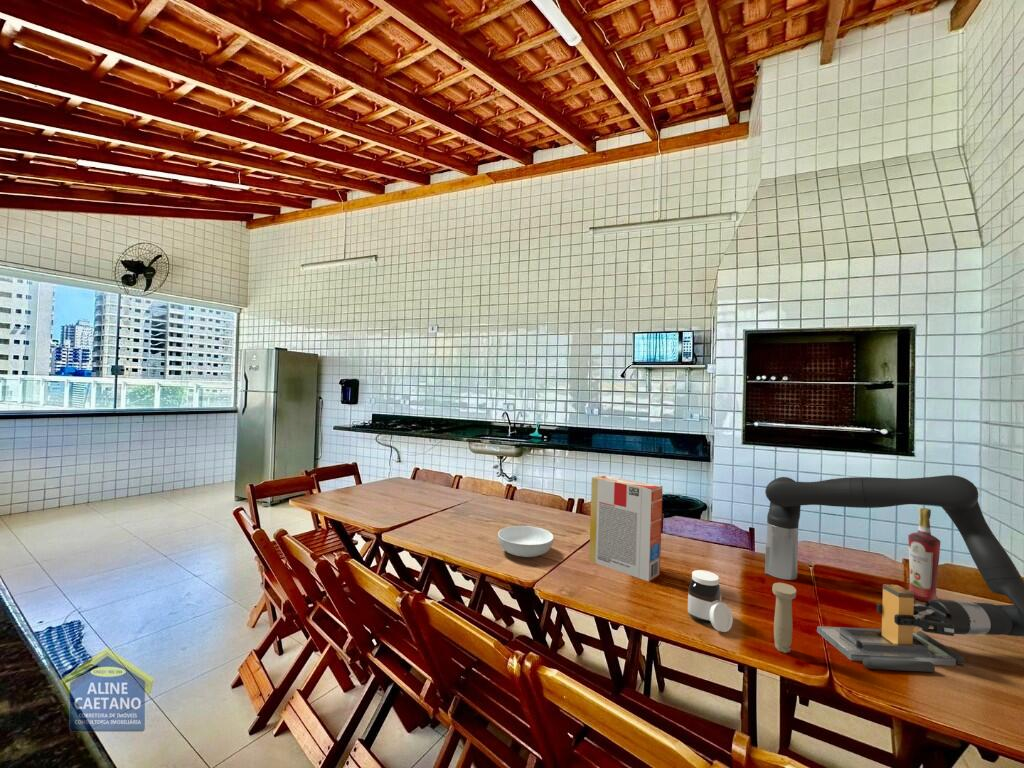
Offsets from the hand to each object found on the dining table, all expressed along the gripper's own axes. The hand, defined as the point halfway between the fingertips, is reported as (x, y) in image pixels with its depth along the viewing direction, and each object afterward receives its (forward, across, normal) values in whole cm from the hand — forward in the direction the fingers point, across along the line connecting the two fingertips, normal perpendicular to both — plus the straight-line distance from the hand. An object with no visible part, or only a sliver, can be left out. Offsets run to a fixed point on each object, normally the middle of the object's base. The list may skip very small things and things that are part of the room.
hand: (886, 613), depth 109 cm
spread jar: (+39, -9, +9) cm, 41 cm away
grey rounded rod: (+4, +9, +8) cm, 13 cm away
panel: (+1, 0, +8) cm, 9 cm away
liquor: (-34, -28, +9) cm, 45 cm away
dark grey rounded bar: (-13, 0, +8) cm, 15 cm away
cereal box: (+55, -43, +9) cm, 70 cm away
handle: (+27, +3, +9) cm, 28 cm away
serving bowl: (+90, -52, +9) cm, 104 cm away
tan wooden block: (-3, 0, +7) cm, 7 cm away
